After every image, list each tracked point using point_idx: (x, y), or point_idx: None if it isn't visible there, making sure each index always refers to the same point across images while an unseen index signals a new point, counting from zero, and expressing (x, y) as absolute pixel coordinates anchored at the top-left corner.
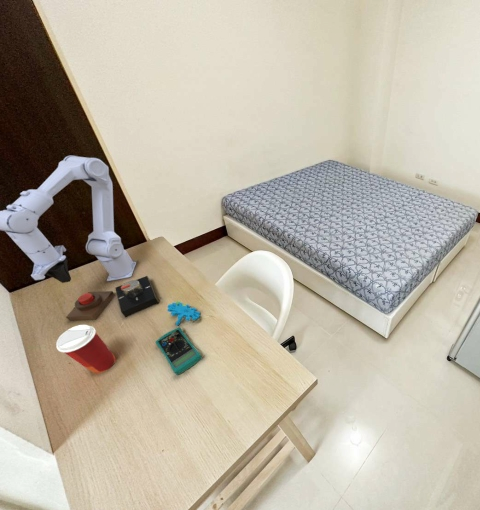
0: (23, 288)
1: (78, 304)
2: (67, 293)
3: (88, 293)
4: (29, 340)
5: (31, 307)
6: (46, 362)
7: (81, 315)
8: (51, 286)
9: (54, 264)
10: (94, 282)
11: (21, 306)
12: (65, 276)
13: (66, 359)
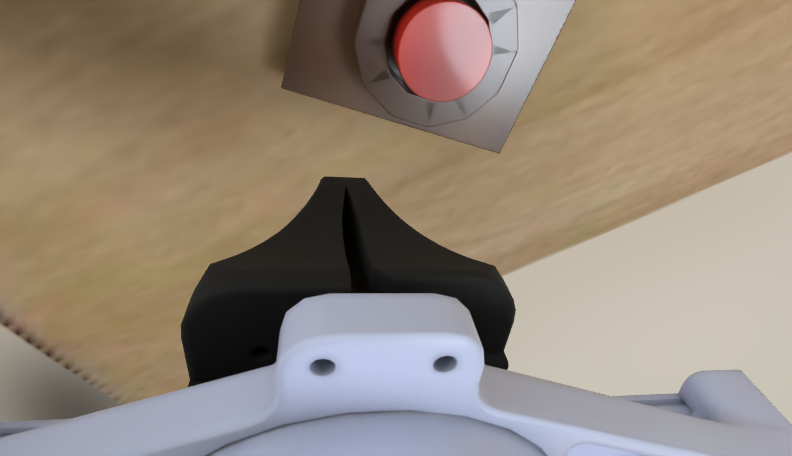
0: None
1: (467, 95)
2: (214, 225)
3: (405, 35)
4: (527, 260)
5: None
6: (720, 151)
7: (537, 63)
8: (129, 317)
9: (560, 390)
10: (114, 98)
11: None
12: (390, 212)
13: (774, 68)
